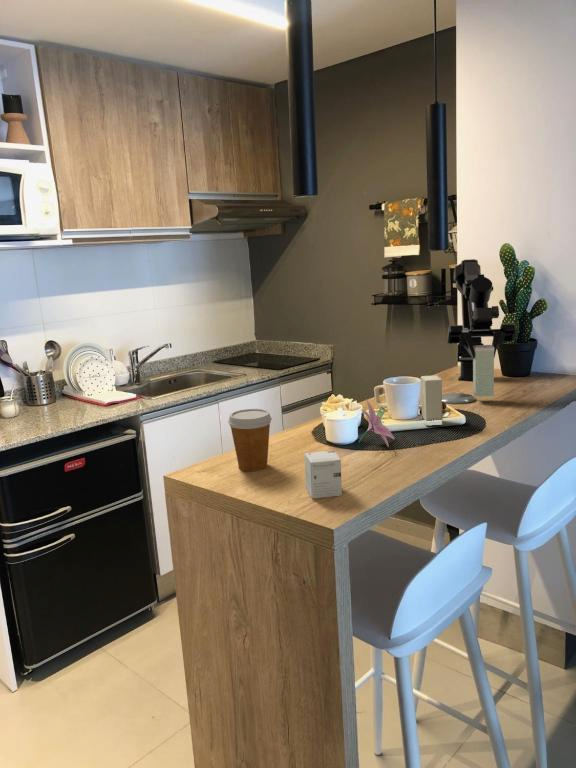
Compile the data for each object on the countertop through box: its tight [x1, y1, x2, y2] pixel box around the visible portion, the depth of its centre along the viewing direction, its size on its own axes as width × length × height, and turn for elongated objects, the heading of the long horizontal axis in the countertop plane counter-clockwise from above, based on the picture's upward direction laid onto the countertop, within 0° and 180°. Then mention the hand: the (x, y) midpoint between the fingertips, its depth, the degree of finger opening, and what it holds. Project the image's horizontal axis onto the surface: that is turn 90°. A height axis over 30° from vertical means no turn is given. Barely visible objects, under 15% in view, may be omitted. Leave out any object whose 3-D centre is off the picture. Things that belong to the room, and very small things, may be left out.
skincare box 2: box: [420, 374, 444, 421], centre depth 160 cm, size 6×4×12 cm
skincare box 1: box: [303, 450, 343, 499], centre depth 119 cm, size 6×6×7 cm
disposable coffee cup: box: [227, 408, 273, 472], centre depth 135 cm, size 10×10×12 cm
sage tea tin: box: [472, 344, 495, 398], centre depth 177 cm, size 5×5×14 cm
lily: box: [358, 399, 396, 448], centre depth 147 cm, size 12×12×10 cm
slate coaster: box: [442, 392, 476, 405], centre depth 183 cm, size 11×11×1 cm
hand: (483, 357), depth 175 cm, fingers closed on sage tea tin, 5 cm apart
